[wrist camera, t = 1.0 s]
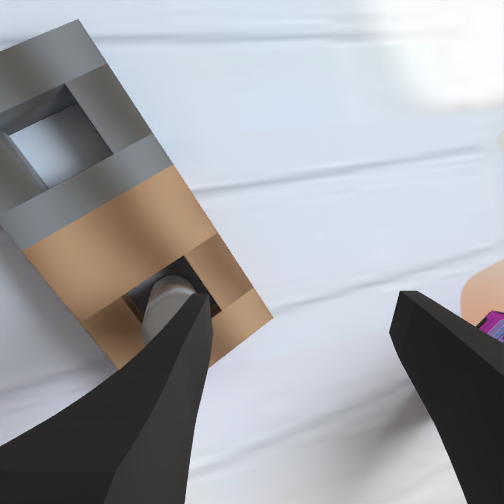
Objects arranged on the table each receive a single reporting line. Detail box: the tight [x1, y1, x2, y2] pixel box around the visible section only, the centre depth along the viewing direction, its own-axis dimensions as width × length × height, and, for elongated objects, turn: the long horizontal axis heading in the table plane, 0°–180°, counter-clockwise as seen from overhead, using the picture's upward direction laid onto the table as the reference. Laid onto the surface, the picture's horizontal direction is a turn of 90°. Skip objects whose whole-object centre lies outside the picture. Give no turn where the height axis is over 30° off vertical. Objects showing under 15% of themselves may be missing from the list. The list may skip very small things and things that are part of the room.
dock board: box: [0, 19, 273, 370], centre depth 19 cm, size 10×22×2 cm, turn 33°
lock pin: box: [141, 275, 196, 346], centre depth 18 cm, size 3×3×8 cm
